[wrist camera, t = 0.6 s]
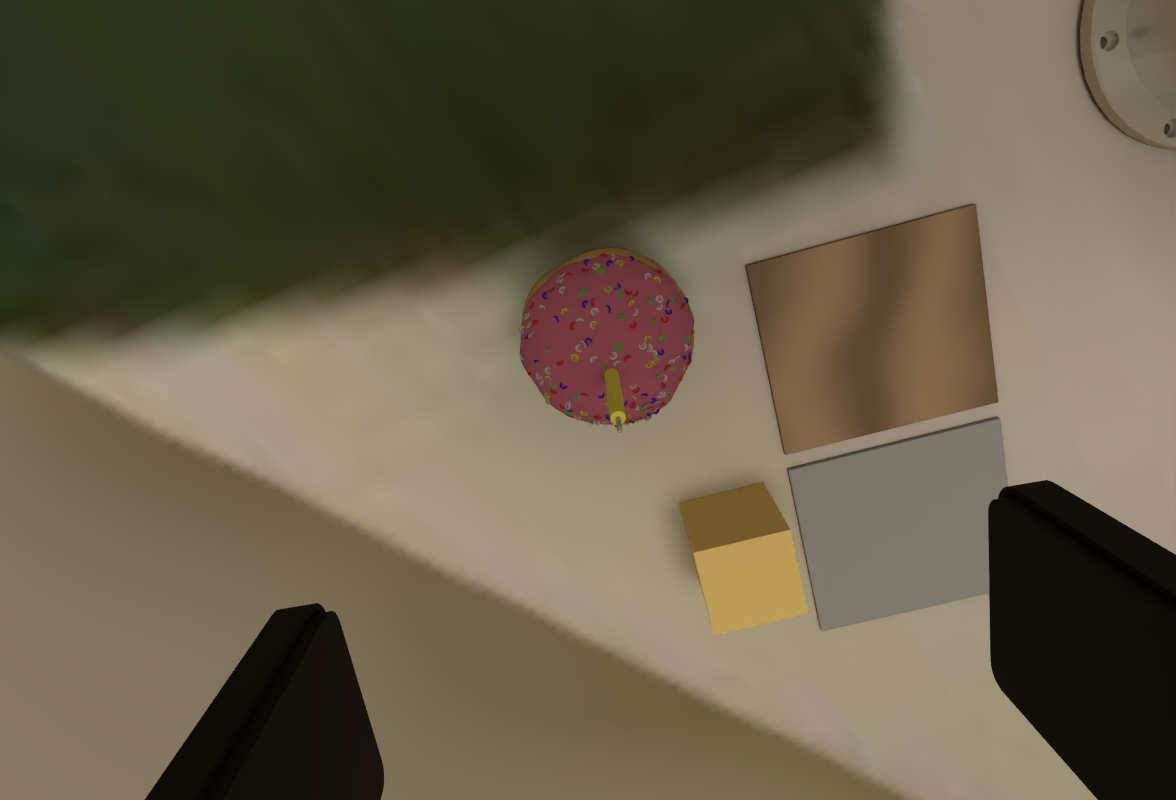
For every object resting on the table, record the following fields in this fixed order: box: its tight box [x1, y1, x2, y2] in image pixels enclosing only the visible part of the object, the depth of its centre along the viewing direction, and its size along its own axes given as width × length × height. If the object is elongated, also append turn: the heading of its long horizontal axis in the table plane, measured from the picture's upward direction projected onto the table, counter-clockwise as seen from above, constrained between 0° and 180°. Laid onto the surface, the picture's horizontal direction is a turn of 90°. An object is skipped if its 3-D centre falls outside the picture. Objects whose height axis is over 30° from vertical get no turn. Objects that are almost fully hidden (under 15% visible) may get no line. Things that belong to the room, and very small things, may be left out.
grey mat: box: [788, 417, 1008, 631], centre depth 43 cm, size 12×11×1 cm
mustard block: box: [679, 483, 808, 635], centre depth 40 cm, size 5×5×6 cm
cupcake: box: [520, 248, 695, 433], centre depth 34 cm, size 9×8×12 cm
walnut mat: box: [745, 204, 998, 455], centre depth 40 cm, size 12×11×1 cm
